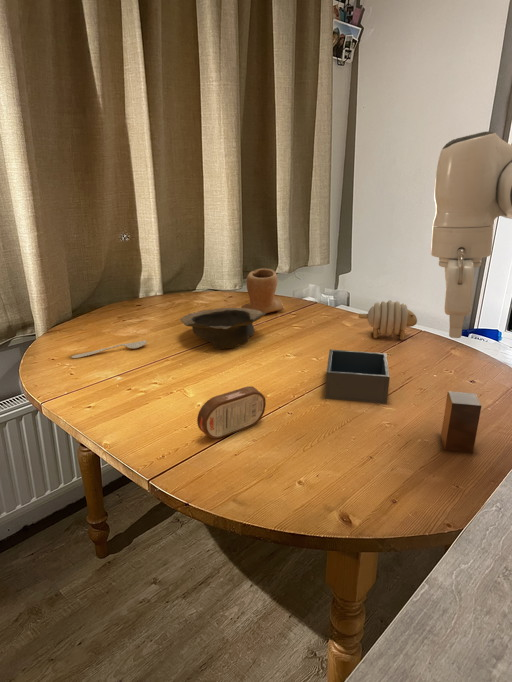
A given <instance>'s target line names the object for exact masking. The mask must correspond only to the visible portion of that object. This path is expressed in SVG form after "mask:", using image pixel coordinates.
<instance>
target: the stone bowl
mask: <svg viewBox="0 0 512 682" xmlns="http://www.w3.org/2000/svg"><path fill="white" fill-rule="evenodd" d="M267 314H268V313H267V312H262V313H261V311H258V310H253V309H245V308H241V307H222V308H220V307H219V308H213V309H204V310H199V311H197V312H192V313H188V314H186V315H184V316H182V317H180V323H182V324H183V325H184V326H186V327H191V328H192V332H193V333H194V335H195V336H197V337H199V338H200V339H203V340H204V341H206V342H210V343H213V344H214V347H215V348H216V349H217V350H223V349H226V350H228V349H233V348H236V347H238V346H243V345H245V344H247V343H248V341H249V338H251V337H253V335H254V334H255V327H254V325H253V324H254V323H255V322H257V321H259V320H260V319H262V318H263V317H264V316H265V315H267Z"/></svg>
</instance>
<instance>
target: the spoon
mask: <svg viewBox="0 0 512 682" xmlns="http://www.w3.org/2000/svg"><path fill="white" fill-rule="evenodd" d="M147 343H148V341H147V340H140V341H135V342H129V343H121V344H120V343H119V344H117V345H113V346H109V347H104V348H102V349H96V350H93V351H88V352H83V353H79V354H74V355H72V356H71V358H72V359H81V358H85V357H88V356H92V355H97V354H98V353H99V354H100V353H103V352H105V351H108V350H111V349H115V348H119V347H126V348H128V349H139V348H141V347H143V346H145V345H146V344H147Z"/></svg>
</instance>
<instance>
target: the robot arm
mask: <svg viewBox="0 0 512 682" xmlns="http://www.w3.org/2000/svg"><path fill="white" fill-rule="evenodd" d="M433 195H434V196H433V199H434V203H435V215H434V219H433V222H432V229H431V231H432V232H431V233H432V234H431V247H430V249H431V250H430V255H431V256H432V257H435V258H438V266H439V267H441V268H444V279H445V294H444V297H445V298H444V314H445V315H447V316H448V317H449V332H448V336H449V337H450V338H451V339H460V338H461V337H462V335H463V326H464V321H465V317H466V316H467V317H468V316H470V315H471V312H472V308H473V307H472V306H473V297H474V296H473V295H474V281H475V269H476V268H480V267H481V266H482V261H483V258H488V257H490V256H491V255H492V250H493V249H492V248H493V237H494V226H495V220H496V219H497V218H498V217H503V218H505V219H510V220H512V144H510V143H508V142H507V141H505V140H503V139H502V138H501V137H500V136H499V135H498V134H497V133H496V132H495V131H482V132H477V133H473V134H469V135H465V136H461V137H457V138H455V139H451V140H449V141H448V142H447V143H446V144H445V145H444V146H443V147H442V148H441V150H440V152H439V156H438V162H437V165H436V172H435V184H434V194H433Z"/></svg>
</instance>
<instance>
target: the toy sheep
mask: <svg viewBox="0 0 512 682" xmlns="http://www.w3.org/2000/svg"><path fill="white" fill-rule="evenodd" d="M358 319H363V320H364V319H367V322H368V325H369V326H370V327H371V328H372V334H373V336H372V337H373V338H374V339H378V337H379V334H380V335H384V336H385V335H386V336H387V337H390V336H392V335H394V336H397V335H398V336H399V340H401V341H403V340H405V334H406V333H405V332H406V329H407V328H411V327H414V326H416V325H417V323H418V317H417V316H416V314H415V313H414V312H413V311H412V310H410V309H408V306H407V304H406V303H400V301H394V300H392V299H391V300H389V299H388V300H387V301H386V300H382V301H381V302H375V303H374V304H373V306H371V307H370V308H369V310H368V311H367V313H359V314H358Z"/></svg>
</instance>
